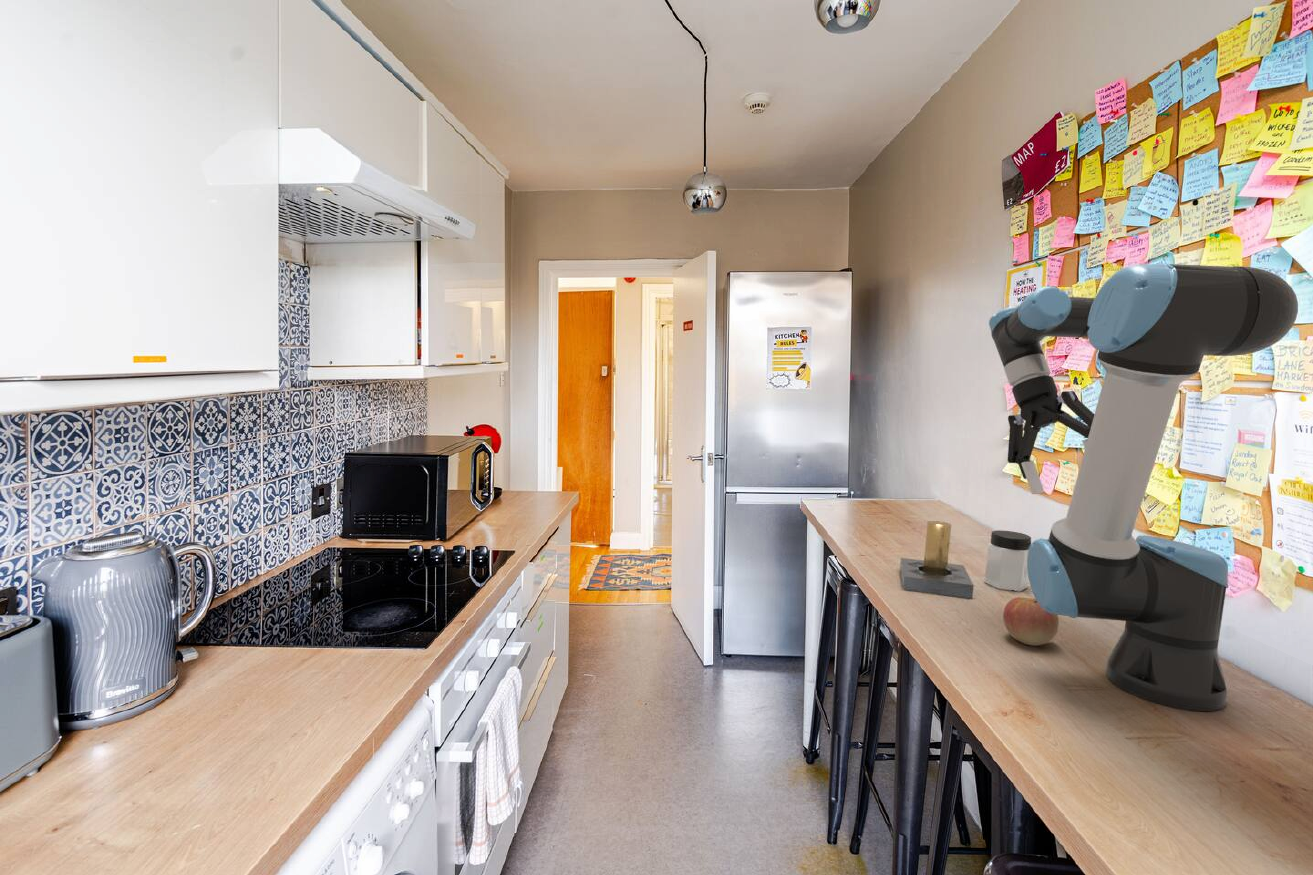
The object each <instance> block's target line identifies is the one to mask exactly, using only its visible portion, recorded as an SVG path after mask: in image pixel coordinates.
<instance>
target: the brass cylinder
mask: <svg viewBox="0 0 1313 875" xmlns="http://www.w3.org/2000/svg"><path fill="white" fill-rule="evenodd" d="M951 531H952V524H951V523H949V522H945V521H939V520H930V521H927V524H926V534H925V545H924V556H923V560H924V566H923V572H925V573H928V574H933V575H941V576H946V575H947V565H948V563H949V551H950V543H951V542H950V541H951Z"/></svg>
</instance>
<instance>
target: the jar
mask: <svg viewBox="0 0 1313 875" xmlns="http://www.w3.org/2000/svg"><path fill="white" fill-rule="evenodd" d="M990 534H991V535H990V537H991V538H990V542H989V543H988V545H987V546H988V547H987V556H986V557H987V558H986V566H985V575H984V576H985V577H984V583H985V584H987V585H989V586H992V587H994V588H996V589H998V590H1003V591H1011V590H1014V591H1013V592H1019V591H1020V592H1023V591H1024V590H1025V589H1027V588H1028V586H1029V585H1028V584H1029V577H1028V570H1027V556H1028V550H1029V547H1030V545H1031V544H1032V537H1031V536H1030V535H1028V534H1025V533H1022V532H1018V531H1011V530H999V529H998V530H993V531H991V533H990Z"/></svg>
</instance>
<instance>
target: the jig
mask: <svg viewBox="0 0 1313 875" xmlns="http://www.w3.org/2000/svg"><path fill="white" fill-rule="evenodd" d="M923 566H924V559H923V560H922V559H915V558H905V557H901V558H900V565H899V571H900V572H899V573H900V580H901V584H902V590H903V591H904V590H905V591H911V592H917V593H926V594H934V595H940V594H942V595H943V596H948V595H950V596H949V597H956V598H962V599H970V600H972V599H973V595H974V586H975V585H974V583H973V581H972V578H970V575H969V573H968V572H967V569H966V567H965V566H964V564H957V563H949V562H948V565H947V575H946V576H941V575H933V574H928V573H925V572H923ZM942 595H941V596H942Z"/></svg>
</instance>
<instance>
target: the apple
mask: <svg viewBox="0 0 1313 875" xmlns="http://www.w3.org/2000/svg"><path fill="white" fill-rule="evenodd" d="M1003 609H1004V610H1003V611H1002V612H1003V614H1002V620H1003V624H1004V626H1005V629H1006V631H1007V632H1008V633H1009V635H1011V637H1013V638H1014V639H1015V640H1016V641H1018V642H1020V643H1022V644H1025V645H1027V646H1033V647H1034V646H1035V647H1036V646H1037V647H1038V646H1042V645H1046V644H1048V643H1049V642H1051V641H1053V639H1054V638H1055V636H1056V635H1057V632H1058V630H1059V624H1060V622H1059V615H1055V614H1051V613H1048V612H1047V611H1045V610H1044V609H1043V608H1042V607H1041V606H1040V605H1039V604H1038V602H1037V601H1036V599H1035V598H1030V597H1021V596H1019V597H1015V598H1011V600H1009V601H1008V602H1007V603H1006V604H1005V607H1004V608H1003Z"/></svg>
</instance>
